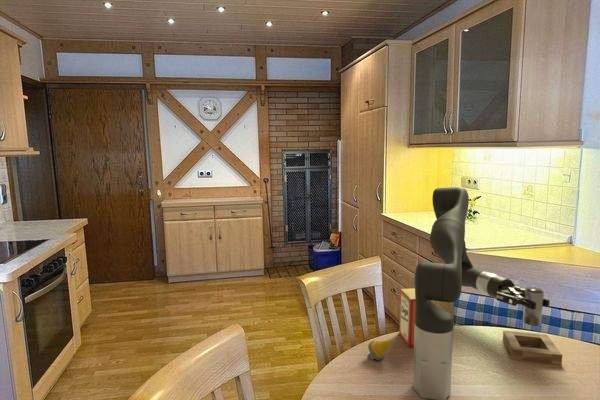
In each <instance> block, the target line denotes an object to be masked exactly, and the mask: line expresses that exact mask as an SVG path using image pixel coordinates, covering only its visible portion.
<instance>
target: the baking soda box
mask: <svg viewBox="0 0 600 400" xmlns="http://www.w3.org/2000/svg"><path fill="white" fill-rule="evenodd" d="M430 301H431V302H432V300H430ZM398 324H399V325H398V326H399V328H398V329H399V330H398V333H399V336H400V337H401V338H402V339H403V341H404V342H405V343H406V345H407V346H408V348H409V349H410V348H414V333H415V287H410V288H408V287H406V288H400V291H399V322H398Z"/></svg>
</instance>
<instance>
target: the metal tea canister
mask: <svg viewBox="0 0 600 400" xmlns="http://www.w3.org/2000/svg"><path fill="white" fill-rule="evenodd" d="M527 287H528V288H526V287H525V288H524V289H525V298H526V299H528V300H531V301H533V302H536V309H535V310H532V309H530V308H528V307H525V306H523V313H522V314H523V315H522V322H523V323H524V324H526V325H528V326H532V327H539V326H542V319H543V308H544V306H543V298H545V297H544V296H545V291H544V290H542V289H541V288H539V287H535V286H533V287H532V286H527Z"/></svg>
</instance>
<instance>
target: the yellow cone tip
mask: <svg viewBox="0 0 600 400" xmlns="http://www.w3.org/2000/svg"><path fill="white" fill-rule="evenodd" d="M392 342H393V339H388V340H380V341H375V340H373V341H370V342H369V343H368V345H367V346H368V347H367V348H368V349H367V350H368V351H369V354H368V355H367V356H368V357H369V359H370V360H371V359H372V360H371V361H373V360H374V359H375V360H377V361H380V360H382V359H384V356H385V353H386V352H387V350H388V348H389V346H390V345H391V344H392Z"/></svg>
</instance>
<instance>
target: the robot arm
mask: <svg viewBox="0 0 600 400" xmlns="http://www.w3.org/2000/svg"><path fill="white" fill-rule="evenodd" d="M431 198H432V207H433V212H434V215H435V218H436V220H435V221H434V222H433V224H432V227H431V231H430V235H429V236H430V237H429V243H430V246H431V249H432V250H433V251H434V253H435V254H436V255H437V256H438V257H439V258H440V259H441V261H443V263H441V262H440V263H439V262H430V261H420V262H418V263H417V265H416V267H415V273H414V288H415V333H414V347H413V364H412V365H413V366H412V367H413V368H412V369H413V371H412V372H413V375H412V376H413V378H412V388H413V390H414V391H415V392H416V393H417V395H418V396H419V398H423V399H430V400H447V398H449V396H450V395H451V391H452V369H453V368H452V366H453V343H454V342H453V341H454V323H455V322H454V317H453V315H452V314H451V313H450V312H449V311H447V310H445V309H443V308H441V307H440V306H438V305H436V304H434V302H432V301H435V302H441V303H442V302H444V303H455V302H458V300H459V299H460V296H461V293H462V287H468V288H473V289H475V290H477V291H480V292H481V293H482V294H484V295H487V296H489V297H492V298H494V299H496V301H499V302H502V303H504V304H506V305H507V304H508V305H510V306H514V307H515V306H517V305H518V306H521V307H522V306H523V307H524V306H525V307H528V308H530V309H532V310H535V309H536V302H533V301H531V300H528V299H526V298H525V289H526V288H528V287H529V286H526V287H525V288H522V287H520V286H517V285H515V284H514V281H512V280H511V279H509V278H507V277H505V276H501V275H499V274H496V273H493V272H490V271H486V270H483V269H480V268H477V267H474V266H473V264H472V262H471V260H470V257H469V255H468V253H467V247H466V241H465V237H466V236H465V235H466V220H467V219H466V218H467V213H468V210H469V206H470V205H469V204H470V203H469V201H470V199H469V198H470V197H469V193H468V191H467V189H466V188H465V187H462V186H450V187H449V186H448V187H437V188H435V189H434V190H433V192H432V197H431ZM430 300H431V301H430ZM543 307H545V308H548V307H550V299H548V298H546V297H543Z"/></svg>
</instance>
